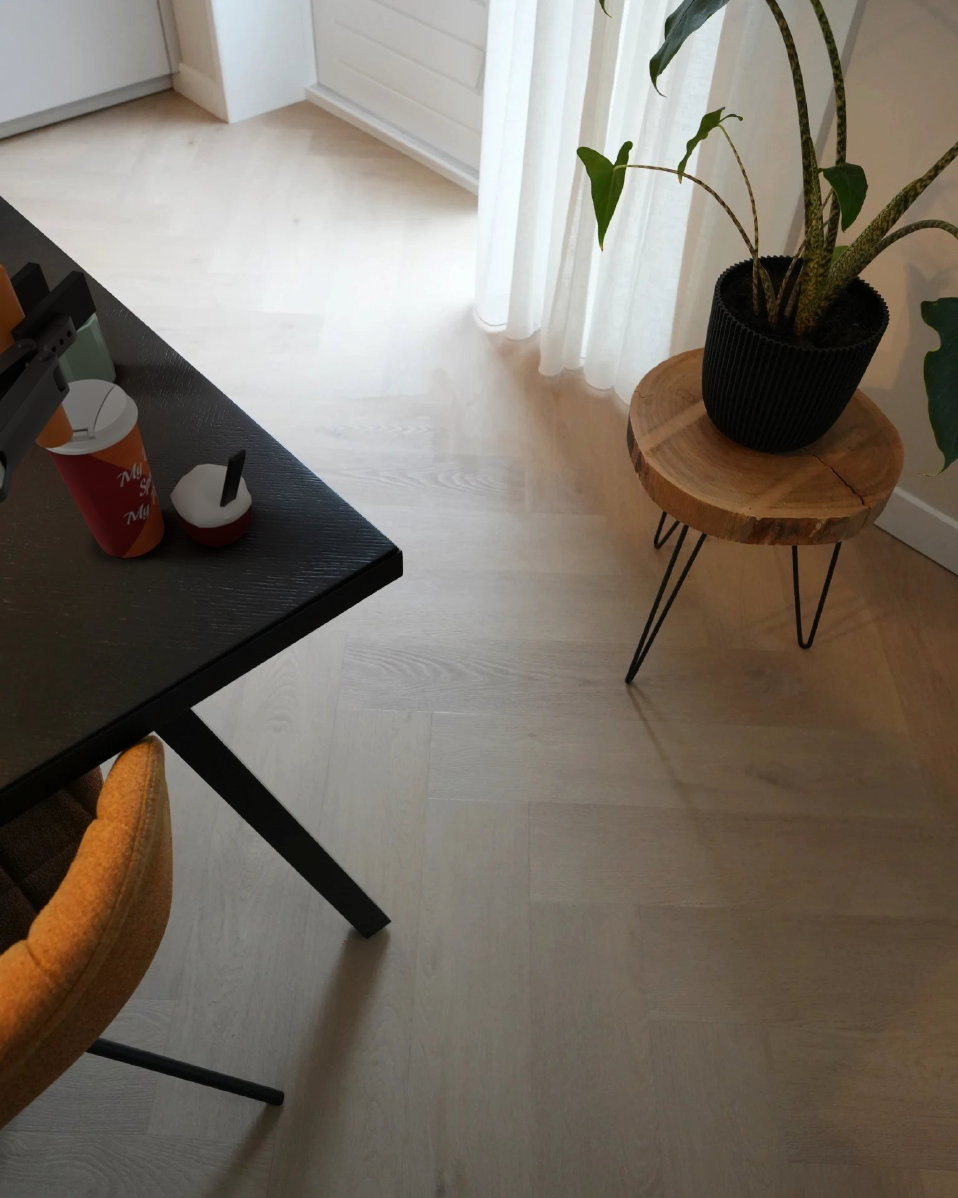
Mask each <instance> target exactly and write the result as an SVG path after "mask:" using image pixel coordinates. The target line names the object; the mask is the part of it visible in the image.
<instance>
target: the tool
mask: <svg viewBox="0 0 958 1198" xmlns="http://www.w3.org/2000/svg"><path fill="white" fill-rule="evenodd" d="M10 279H11V278H10V277H9V275H8V272H7V270H6V267H5V266H4V265H3V264H1V263H0V354H2V353H3V352H4V351H5V350H6V349H8V348H9V347H10V346H11V345H13V344H14V343H15V341H14V339H13V336H12V334H11V332H10V331H11V330H12V329H13V328H14V327H15V326H16V325H18V324H19V323H20V322H21V321H22V320H23V319H24V318H25V315H24V313H23V310H22V308H21V306H20V303H19V301H18V298H17V296H16V294H15V291H14V289H13V287H12V284H11V282H10ZM72 437H73V429H72V427H71V424H70V422H69V420H68V417H67V415H66V412H65V410H64V408H63V405H62V403H61V404H60V406H59V407H58V409H57V410H56V412H55V413H54V414H53V416H52V417H51V419H50V420H49V422H48V423H47V424H46V426H45V427H44V429H43V430H42V432H41V433H40V434H39V436H38V437H37V439H36V440H35V443H36V444H37V445H38V446H39V447H41V448H44V449H46V448H56V447H60V446H62V445H64V444H66V443H67V442H69V441H70V440H71V438H72Z"/></svg>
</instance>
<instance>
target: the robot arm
mask: <svg viewBox="0 0 958 1198" xmlns="http://www.w3.org/2000/svg"><path fill="white" fill-rule="evenodd" d="M9 279H10V282H11V284H12V287H13V289H14V291H15V294H16V296H17V298H18V301H19V303H20V306H21V308H22V310H23V313H24V315H25V318H24V319H23V320H22V321H21V322H20V323H19V324H18V325H16V326H15V327H14V328H13V329H12V330H11V331H10V332H11V334H12V336H13V339H14V341H15V343H14V344H13V345H11V346H10V347H9V348H8V349H6V350H5V351H4V352H3V353H2V354H0V504H1V503H3V502H4V501H6V500H7V499H8V496H9V494H10V493H9V491H10V487H11V481H12V476H13V473H14V472H15V471H16V469H17V468H18V467H19V465H20V463H21V462H22V460H23V459H24V457H25V456H26V454H27V453H28V452H29V450H30V449H31V447H32V445H33V444H35V443H36V441H35V440H36V439H37V437H38V436H39V434H40V433H41V432H42V430H43V429H44V427H45V426H46V424H47V423H48V422H49V420H50V419H51V417H52V416H53V414H54V413H55V412H56V410H57V409H58V407H59V406H60V404H61V403H62V402H63V400H64V399H65V397H66V396H67V394H68V393H69V391H70V388H69V385H68V383H67V380H66V378H65V376H64V373H63V371H62V368H61V366H60V363H59V361H58V359H59V358H60V357H61V356H62V355H63V354H64V353H65V352H66V350H67V349H68V348H69V347H70V346H71V345H72V344H73V343H74V342H75V341H76V338H77V333H76V332H77V331H78V330H79V328H80V327H81V326H82V325H83V324H84V323H85V322H86V321H87V320H88V319H89V318H90V317H91V316H92V315H93V314H94V313H95V314H96V312H97V308H96V305H95V302H94V298H93V296H92V294H91V290H90V288H89V285H88V282H87V279H86V276H85V274H84V272H82V271H77V270H71V271H70V272H69V273H68V274H67V275H66V276H65V277H64V279H62V280H61V281H60V282H59V283H58V284H57V285H56V286H55V287H54V288H53V289H52V290H50V288H49V284H48V282H47V280H46V277H45V274H44V272H43V269H42V267H41V264H40V263H36V262H31V261H28V262H27V263H26V264H25V265H24V266H23V267H22V268H21V269H19V270H18V271H17V272H15V274H14V275H13V276H12V277H10V278H9Z"/></svg>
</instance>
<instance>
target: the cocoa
mask: <svg viewBox="0 0 958 1198" xmlns="http://www.w3.org/2000/svg"><path fill="white" fill-rule="evenodd" d="M246 456H247V450H246V449H243V448H242V449H239V450H238V451H237V452H235V453H233V454H232V455H230V456H229V457H228V462H227V466H226V465H219V464H212V463H205V464H197V465H196V466H194V468H193V469H191V470H190V471H189V472H188V473H187V474H185V475H183V476H182V477H181V478H180V479H178V480H177V481H176V485H175V487H174V488H173V490H172V492H171V493H170V495H169V497H170V499H171V503H172V505H173V507H174V508H175V512H176V513H175V514H176V516H177V519H178V521H179V523H180V524H181V526H182V527H183V529H184V530H185V531H186V533H187V534H188V535H189V537H191V539H192V540H193V541H194V542H198V543H200V544H202V545H205V546H206V547H219V548H220V547H225V546H228V545H232V544H234V543H235V542H237V541H238V540H239V539H240V538H242V537H243V536H244V535H246V533H247V531H248V529H249V527H250V525H251V522H252V518H253V505H252V500H253V499H252V495H251V490H250V489H249V488H248V486H247V485H246V481H245V479H244V478H243V476H242V474H243V469H244V465H245V461H246Z"/></svg>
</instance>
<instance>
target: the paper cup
mask: <svg viewBox="0 0 958 1198" xmlns="http://www.w3.org/2000/svg"><path fill="white" fill-rule="evenodd" d="M68 385H69V388H70V391H69V393H68V394H67V396H66V397H65V399H64V400H63V402H62V405H63V408H64V410H65V412H66V415H67V417H68V420H69V422H70V424H71V427H72V429H73V437H72V438H71V440H70V441H69V442H67V443H66V444H64V445H62V446H60V447H56V448H45V449H46V451H47V453H48V455H49V457H50V458H51V460H52V462H53V464H54V466H55V467H56V470H57V471H58V474H59V475H60V477H61V479H62V480H63V483H64V484H65V486H66V488H67V490H68V492H69V494H70V496H71V497H72V499H73V501H74V503H75V504H76V506H77V508H78V510H79V511H80V513H81V515H82V517H83V519H84V521H85V522H86V524H87V526H88V529H90V531H91V534H92V535H93V537H94V538H95V541H96V542H97V543H98V545H99V547H100V548H101V549H102V551H104V552H105V553H106V554H108V555H110V556H111V557H114V558H115V557H116V558H122V559H129V558H135V557H139V556H142V555H145V554H147V553H148V552H150V551H152V550H153V549H154V548H156V546H158V545H159V544H160V542H161V541H162V539H163V537H164V534H165V523H164V518H163V514H162V509H161V506H160V502H159V497H158V495H157V491H156V486H155V483H154V479H153V475H152V472H151V469H150V464H149V461H148V458H147V454H146V450H145V447H144V443H143V439H142V435H141V433H140V429H139V426H138V422H137V421H138V416H139V409H138V407H137V404H136V402H135V400H134V399H133V398H132V397H130V396H129V395H128V394H127V393H126V392H125V390H124V389H123V388H122V387H120V386H119V385H118V384H116V383H114V382H113V383H110V382H107V381H103V380H97V379H88V380H80V381H74V382H70V383H68Z"/></svg>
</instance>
